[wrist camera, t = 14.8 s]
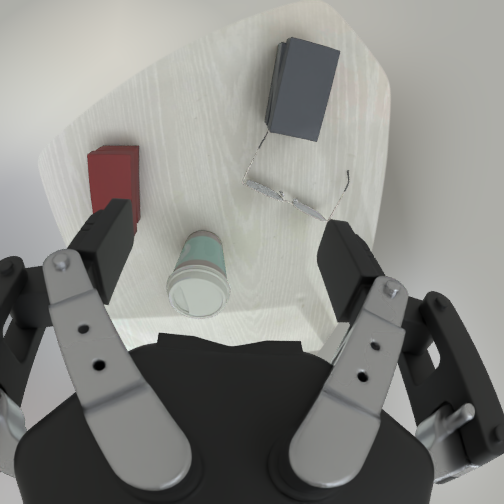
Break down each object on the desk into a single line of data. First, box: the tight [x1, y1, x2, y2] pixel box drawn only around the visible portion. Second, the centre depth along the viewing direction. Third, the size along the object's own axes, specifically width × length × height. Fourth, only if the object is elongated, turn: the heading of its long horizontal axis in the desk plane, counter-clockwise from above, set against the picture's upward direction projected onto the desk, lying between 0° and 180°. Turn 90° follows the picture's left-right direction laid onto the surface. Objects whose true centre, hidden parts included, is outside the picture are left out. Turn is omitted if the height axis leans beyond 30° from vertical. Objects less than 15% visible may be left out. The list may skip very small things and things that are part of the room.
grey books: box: [265, 37, 340, 142], centre depth 29 cm, size 12×6×7 cm, turn 171°
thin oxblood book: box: [87, 151, 137, 236], centre depth 35 cm, size 12×6×2 cm, turn 171°
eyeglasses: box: [242, 129, 349, 222], centre depth 38 cm, size 14×8×4 cm, turn 63°
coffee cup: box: [167, 231, 230, 319], centre depth 41 cm, size 8×8×12 cm
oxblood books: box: [96, 146, 140, 223], centre depth 37 cm, size 12×6×3 cm, turn 171°
